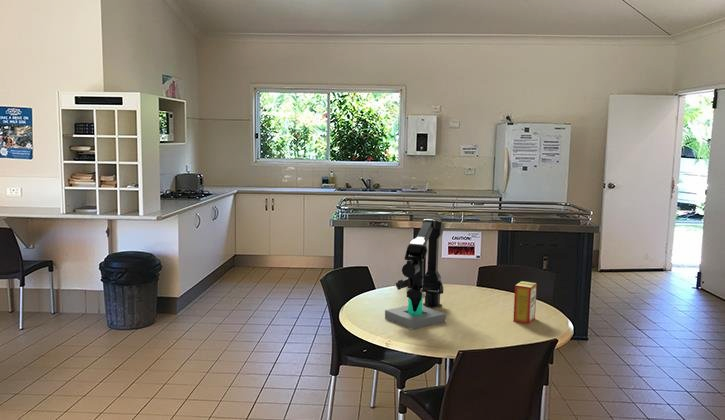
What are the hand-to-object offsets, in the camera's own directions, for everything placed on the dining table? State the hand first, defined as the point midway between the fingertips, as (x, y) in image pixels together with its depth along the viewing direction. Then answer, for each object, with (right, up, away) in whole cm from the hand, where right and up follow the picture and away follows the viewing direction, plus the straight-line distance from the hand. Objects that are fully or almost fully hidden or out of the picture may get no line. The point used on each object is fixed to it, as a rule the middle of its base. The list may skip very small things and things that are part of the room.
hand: (415, 308), depth 247 cm
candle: (0, -4, 0) cm, 4 cm away
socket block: (0, -5, 0) cm, 5 cm away
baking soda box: (+47, -6, +4) cm, 47 cm away
